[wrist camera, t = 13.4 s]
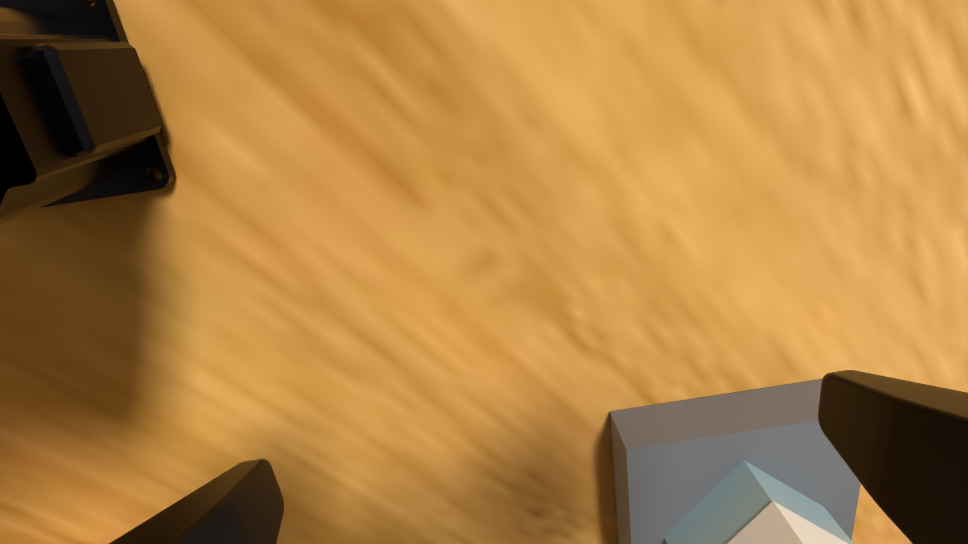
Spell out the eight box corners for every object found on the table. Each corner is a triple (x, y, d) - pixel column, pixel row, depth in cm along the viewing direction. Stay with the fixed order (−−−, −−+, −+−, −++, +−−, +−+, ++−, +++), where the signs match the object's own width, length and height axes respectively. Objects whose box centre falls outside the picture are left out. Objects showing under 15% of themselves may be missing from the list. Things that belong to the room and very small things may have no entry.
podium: (620, 570, 29) (635, 616, 27) (610, 411, 25) (626, 449, 23) (812, 540, 29) (844, 584, 27) (832, 377, 25) (871, 412, 23)
